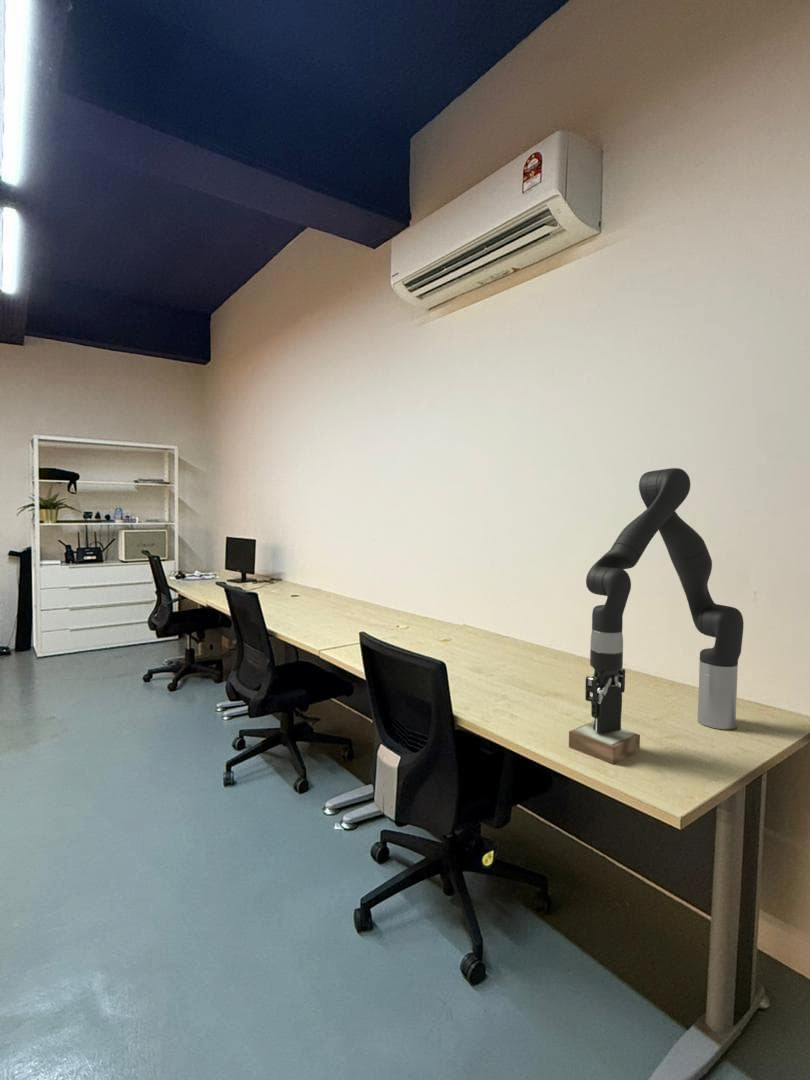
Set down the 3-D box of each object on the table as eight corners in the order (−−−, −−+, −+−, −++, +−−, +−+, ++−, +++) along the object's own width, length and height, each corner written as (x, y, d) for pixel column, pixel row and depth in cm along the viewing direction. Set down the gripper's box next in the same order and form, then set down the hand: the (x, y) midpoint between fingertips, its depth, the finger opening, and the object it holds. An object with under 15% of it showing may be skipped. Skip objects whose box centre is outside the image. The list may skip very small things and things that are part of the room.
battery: (612, 725, 139) (613, 681, 139) (622, 731, 135) (623, 685, 135) (588, 728, 137) (589, 683, 137) (597, 734, 134) (598, 688, 133)
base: (595, 735, 145) (596, 719, 145) (639, 750, 135) (639, 733, 135) (568, 747, 137) (569, 730, 137) (612, 764, 128) (613, 746, 128)
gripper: (608, 641, 143) (607, 703, 143) (576, 649, 134) (574, 716, 135) (636, 646, 137) (634, 712, 138) (604, 656, 128) (602, 725, 129)
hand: (605, 714), depth 136 cm, fingers closed on battery, 7 cm apart
